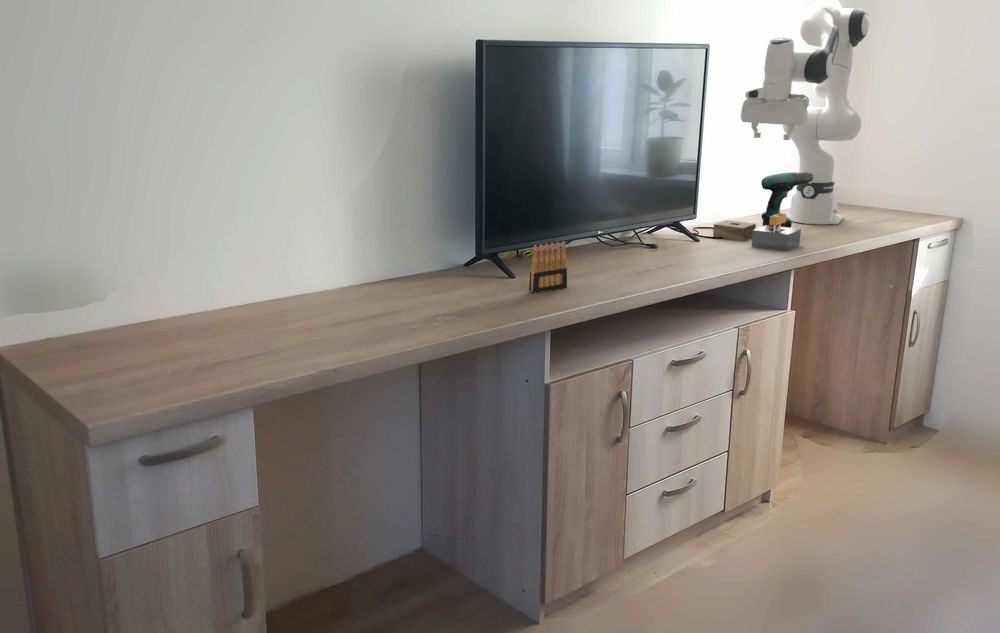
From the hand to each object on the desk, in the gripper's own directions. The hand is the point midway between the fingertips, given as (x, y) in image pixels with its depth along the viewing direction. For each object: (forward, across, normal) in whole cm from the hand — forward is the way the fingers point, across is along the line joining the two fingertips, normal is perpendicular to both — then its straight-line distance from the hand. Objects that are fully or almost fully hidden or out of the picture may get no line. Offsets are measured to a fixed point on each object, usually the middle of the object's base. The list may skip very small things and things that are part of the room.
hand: (771, 138), depth 296 cm
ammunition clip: (+32, +16, +100) cm, 106 cm away
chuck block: (+31, -8, +10) cm, 34 cm away
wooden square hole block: (+31, +8, +4) cm, 32 cm away
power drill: (+31, -2, -12) cm, 34 cm away
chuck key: (+31, -8, +10) cm, 34 cm away
